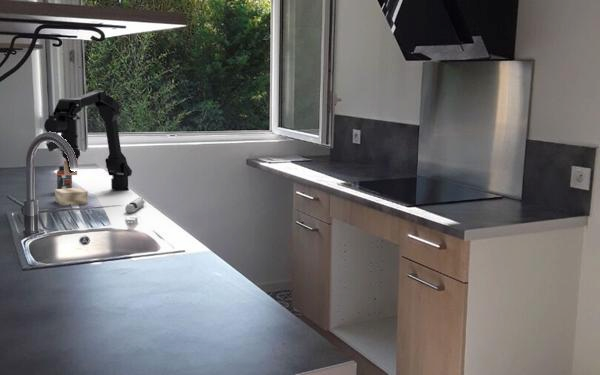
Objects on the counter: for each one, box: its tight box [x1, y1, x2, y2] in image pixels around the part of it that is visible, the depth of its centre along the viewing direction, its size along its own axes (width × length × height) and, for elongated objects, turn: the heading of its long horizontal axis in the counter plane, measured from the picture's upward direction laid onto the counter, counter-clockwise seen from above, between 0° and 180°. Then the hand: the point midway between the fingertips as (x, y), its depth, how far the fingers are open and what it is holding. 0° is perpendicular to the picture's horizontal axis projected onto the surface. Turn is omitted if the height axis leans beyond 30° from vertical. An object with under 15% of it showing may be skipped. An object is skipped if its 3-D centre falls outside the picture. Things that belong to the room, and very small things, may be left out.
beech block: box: [54, 187, 89, 206], centre depth 250 cm, size 10×10×5 cm
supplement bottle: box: [56, 164, 73, 189], centre depth 271 cm, size 6×6×11 cm
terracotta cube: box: [63, 160, 78, 176], centre depth 248 cm, size 4×4×5 cm
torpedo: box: [125, 189, 147, 214], centre depth 241 cm, size 18×5×7 cm, turn 178°
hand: (70, 171), depth 249 cm, fingers closed on terracotta cube, 4 cm apart
